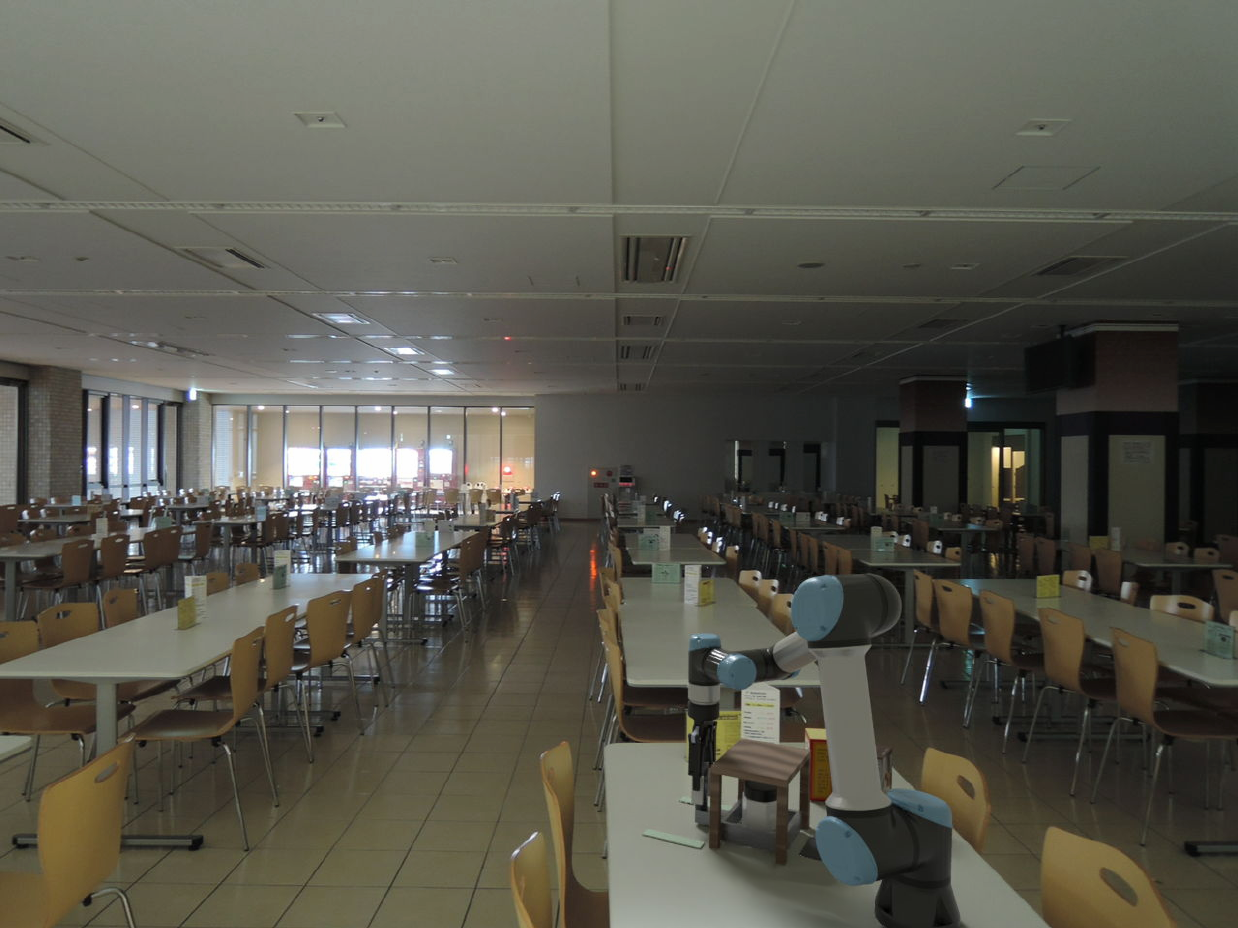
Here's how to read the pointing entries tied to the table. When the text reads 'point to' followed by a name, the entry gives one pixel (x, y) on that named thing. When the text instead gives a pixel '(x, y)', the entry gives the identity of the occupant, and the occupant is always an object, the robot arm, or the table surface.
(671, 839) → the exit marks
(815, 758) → the baking soda box
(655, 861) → the table surface
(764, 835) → the sled
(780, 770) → the small wooden table
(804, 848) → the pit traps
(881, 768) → the coffee box
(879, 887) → the robot arm
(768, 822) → the jar
